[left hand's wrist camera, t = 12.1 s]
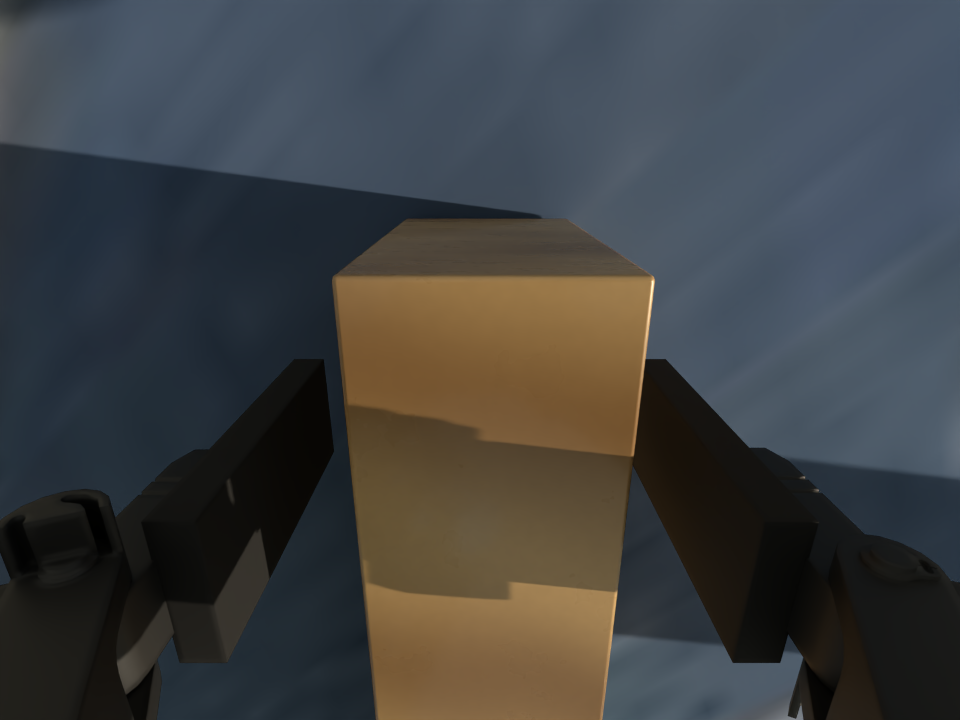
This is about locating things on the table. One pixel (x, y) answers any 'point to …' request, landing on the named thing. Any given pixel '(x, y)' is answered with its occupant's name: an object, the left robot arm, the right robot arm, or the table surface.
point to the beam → (491, 461)
